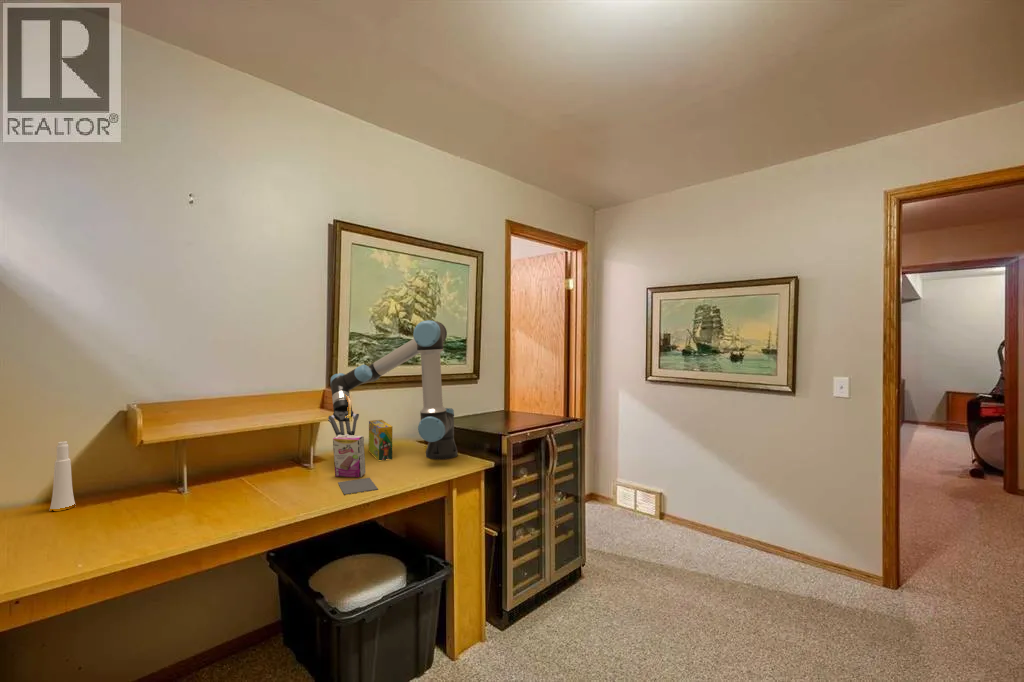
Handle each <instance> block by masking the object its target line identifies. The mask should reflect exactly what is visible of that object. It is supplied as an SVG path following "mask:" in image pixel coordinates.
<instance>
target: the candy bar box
mask: <svg viewBox="0 0 1024 682" xmlns="http://www.w3.org/2000/svg"><path fill="white" fill-rule="evenodd" d="M332 447H333V448H332V449H333V462H334V477H339V478H342V477H343V478H358V477H361V478H362V477H363V476H364V475H365V474H366V460H365V459H366V457H365V453H366V452H365V436H364V435H355V434H354V435H337V436H336V435H335V437H333V438H332Z"/></svg>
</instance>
